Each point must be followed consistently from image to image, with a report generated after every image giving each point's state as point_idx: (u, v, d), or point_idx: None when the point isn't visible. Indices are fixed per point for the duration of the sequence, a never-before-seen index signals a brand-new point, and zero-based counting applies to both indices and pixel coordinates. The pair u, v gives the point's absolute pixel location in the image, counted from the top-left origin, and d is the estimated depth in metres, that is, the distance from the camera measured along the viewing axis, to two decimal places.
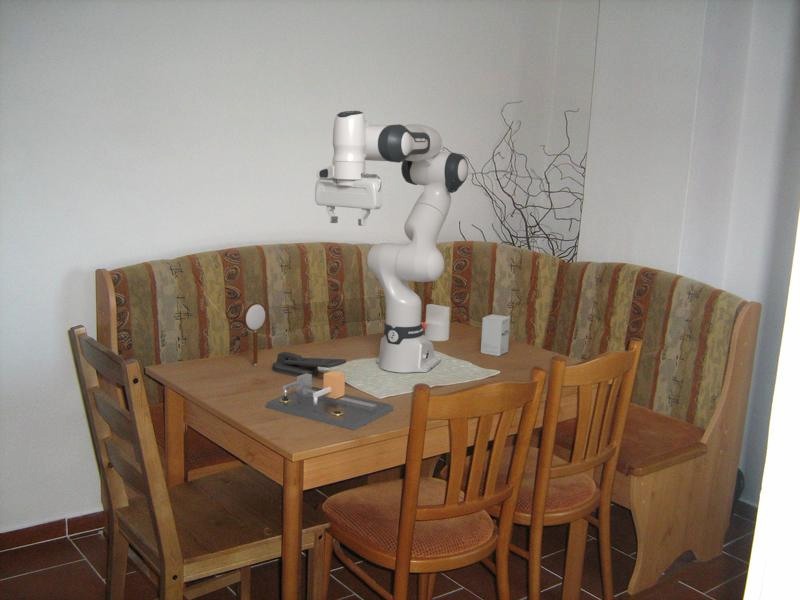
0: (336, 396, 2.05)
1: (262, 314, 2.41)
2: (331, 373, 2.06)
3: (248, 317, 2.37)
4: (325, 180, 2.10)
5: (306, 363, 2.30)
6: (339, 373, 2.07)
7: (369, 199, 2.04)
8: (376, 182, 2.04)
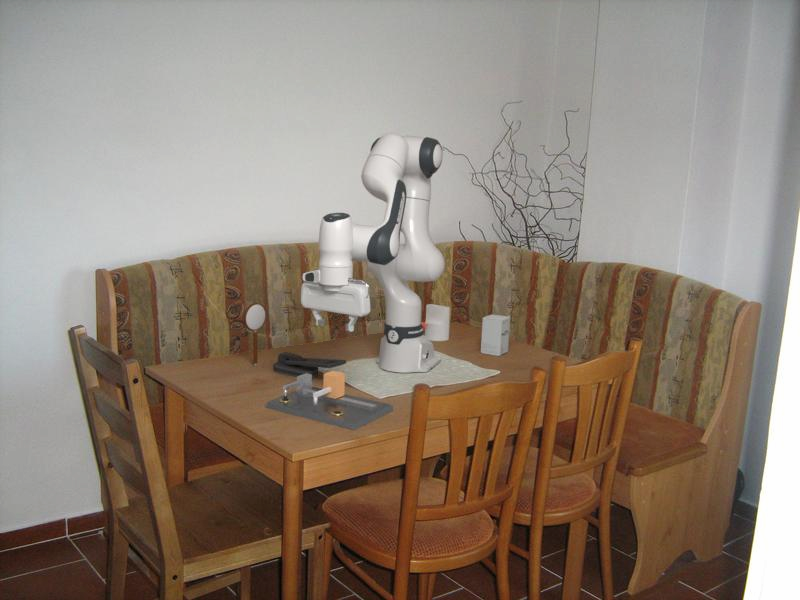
0: (336, 396, 2.05)
1: (262, 314, 2.41)
2: (331, 373, 2.06)
3: (248, 317, 2.37)
4: (311, 284, 2.02)
5: (306, 363, 2.29)
6: (339, 373, 2.07)
7: (356, 306, 1.97)
8: (364, 289, 1.96)
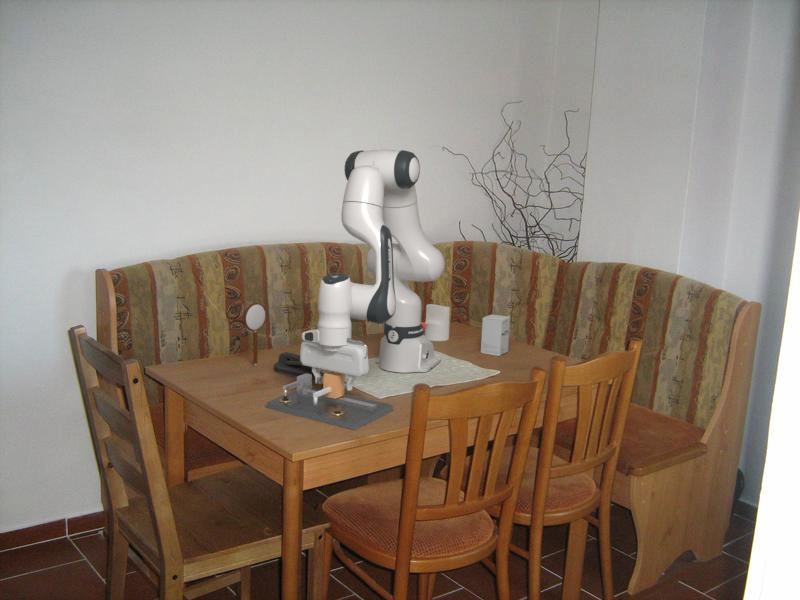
0: (336, 396, 2.05)
1: (262, 314, 2.41)
2: (331, 373, 2.06)
3: (248, 317, 2.37)
4: (310, 343, 2.05)
5: None
6: (339, 373, 2.07)
7: (354, 367, 2.00)
8: (362, 349, 1.99)
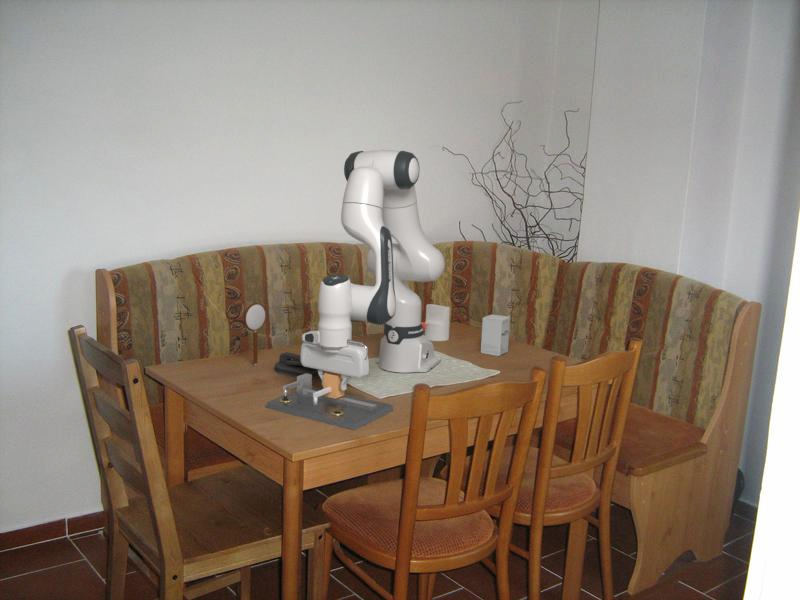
0: (336, 396, 2.05)
1: (262, 314, 2.41)
2: (331, 373, 2.06)
3: (248, 317, 2.37)
4: (311, 344, 2.05)
5: None
6: None
7: (355, 368, 2.00)
8: (362, 351, 1.99)
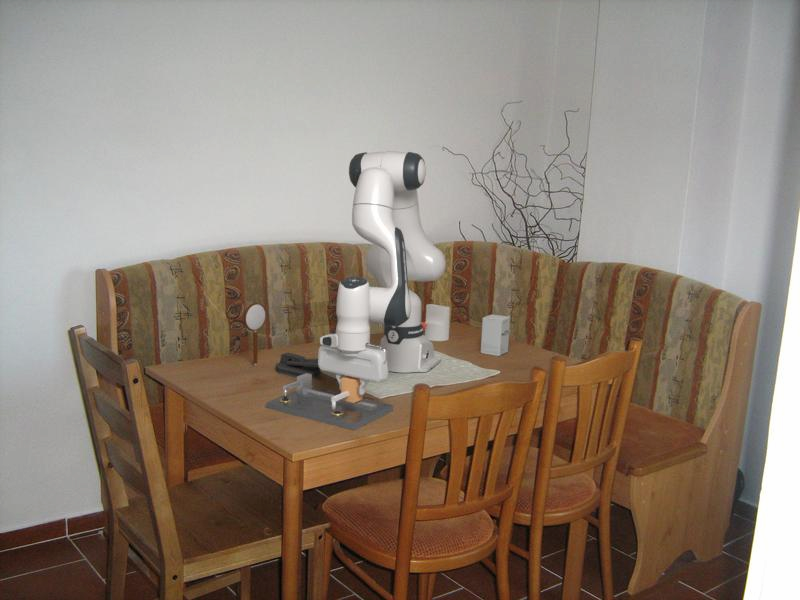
0: (354, 400, 2.02)
1: (262, 314, 2.41)
2: (349, 377, 2.03)
3: (248, 317, 2.37)
4: (328, 347, 2.02)
5: (308, 364, 2.29)
6: None
7: (374, 372, 1.97)
8: (381, 354, 1.96)
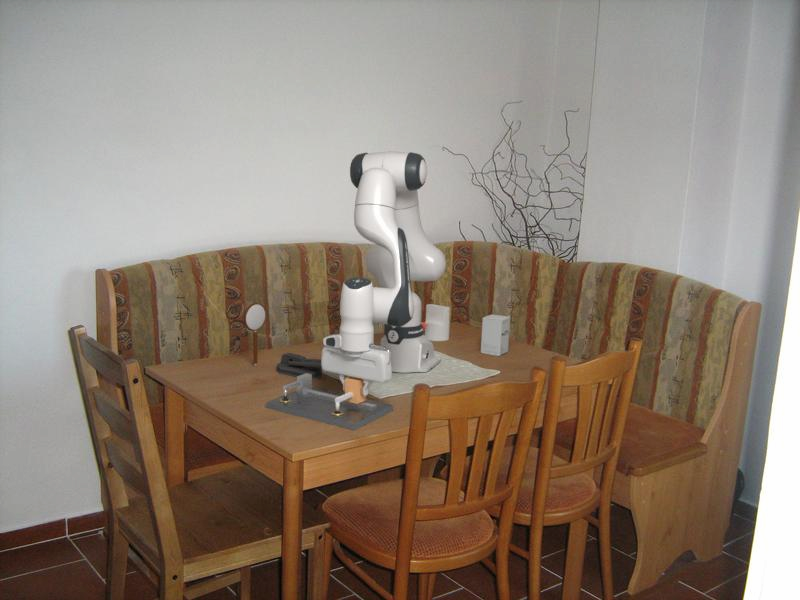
0: (358, 401, 2.01)
1: (262, 314, 2.41)
2: (353, 378, 2.03)
3: (248, 317, 2.37)
4: (332, 348, 2.02)
5: (310, 364, 2.29)
6: None
7: (377, 373, 1.96)
8: (385, 355, 1.96)
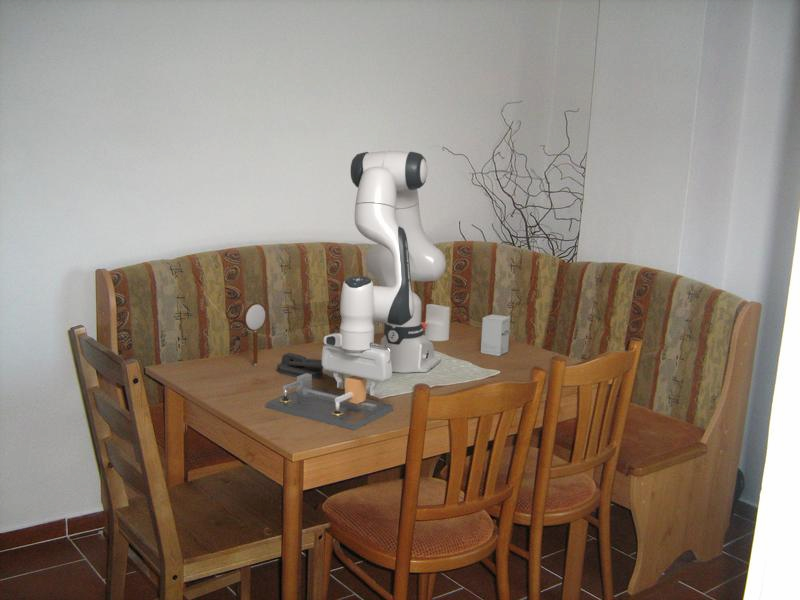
0: (358, 401, 2.01)
1: (262, 314, 2.41)
2: (353, 378, 2.03)
3: (248, 317, 2.37)
4: (332, 347, 2.02)
5: (310, 364, 2.28)
6: (361, 377, 2.03)
7: (378, 372, 1.96)
8: (385, 354, 1.96)
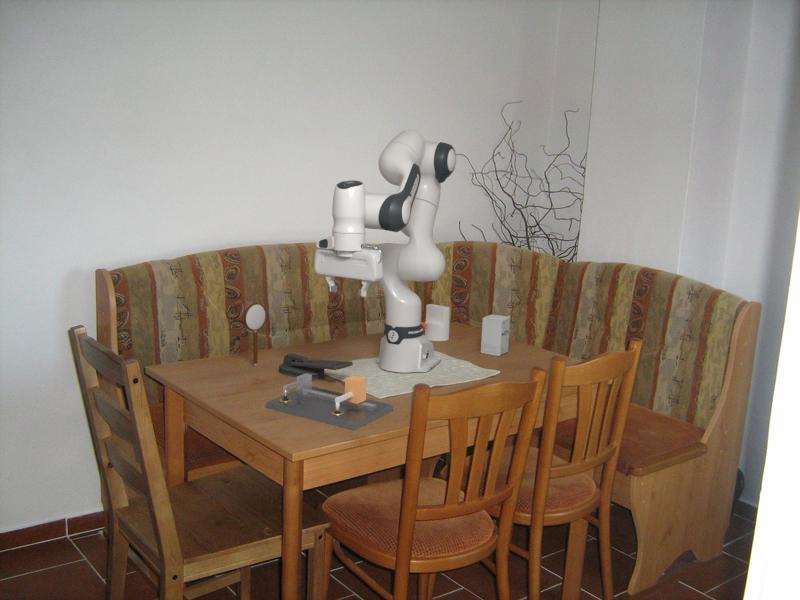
0: (358, 401, 2.01)
1: (262, 314, 2.41)
2: (353, 378, 2.03)
3: (248, 317, 2.37)
4: (325, 250, 2.07)
5: (312, 365, 2.28)
6: (361, 377, 2.03)
7: (369, 271, 2.02)
8: (376, 254, 2.01)
